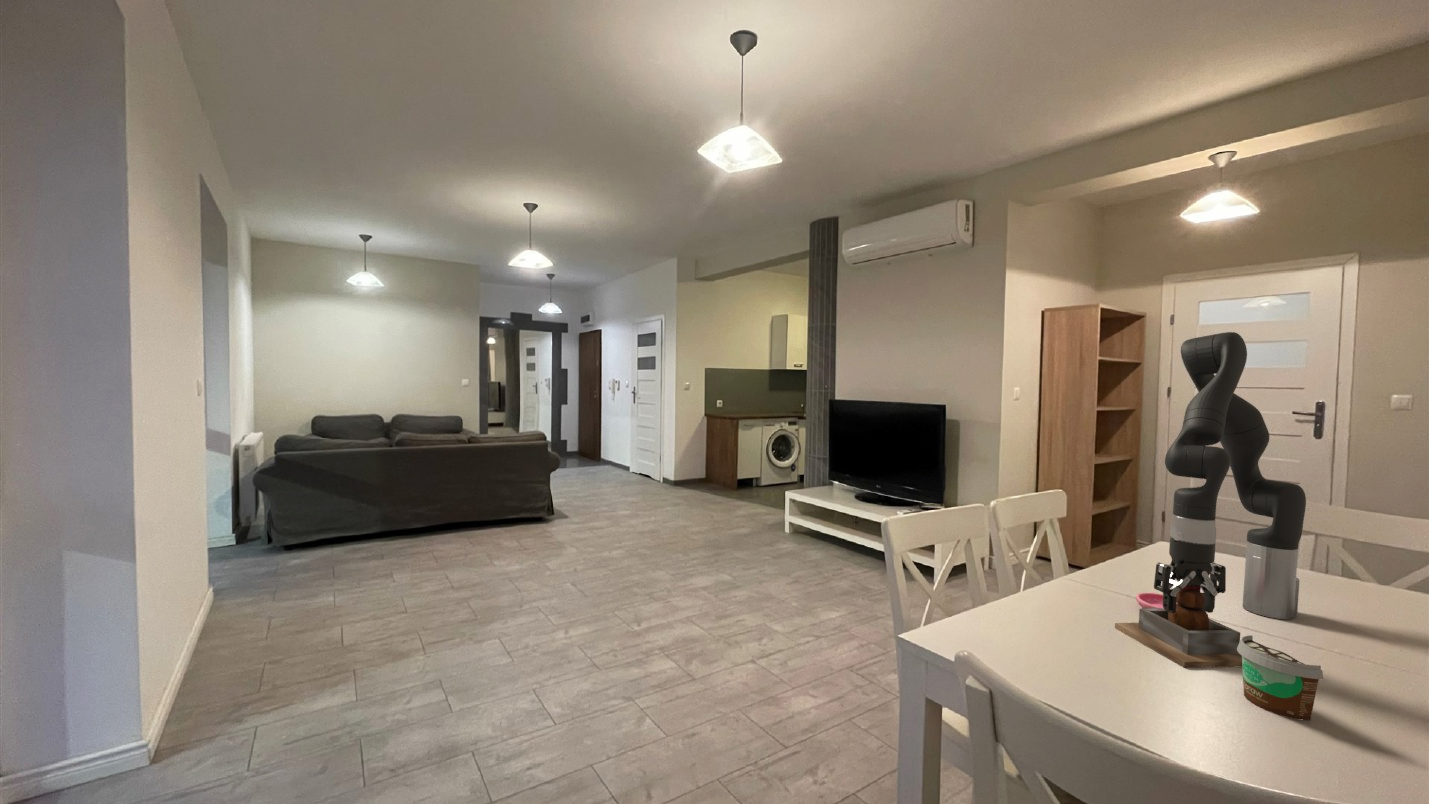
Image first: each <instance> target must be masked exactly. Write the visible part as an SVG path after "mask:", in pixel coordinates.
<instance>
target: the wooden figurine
mask: <svg viewBox="0 0 1429 804" xmlns="http://www.w3.org/2000/svg"><path fill="white" fill-rule="evenodd" d="M1201 590H1202V589H1201V585H1186V586H1185V587H1184V589H1180V590H1179V592H1178V593H1177V594H1176V595H1175V596H1176V597H1177V599H1176V602H1177V603H1178V604H1176V612H1175V613H1170V612H1169V613H1168V621H1170V622H1172V623H1174V624H1176V625H1178V626H1180V627H1182V628H1185V629H1187V630H1189V631H1205V630H1209V619H1210V618H1209V615H1208V612H1206V611H1205V610H1204V609H1202V608H1203V607H1204V604H1205V598H1204V595H1203V594H1202V593H1203V592H1201Z"/></svg>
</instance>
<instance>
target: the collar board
mask: <svg viewBox="0 0 1429 804" xmlns="http://www.w3.org/2000/svg"><path fill="white" fill-rule="evenodd" d="M1168 613H1169V612H1168V611H1166V610H1165V609H1142V608H1139V612H1138V622H1115V623H1114V628H1115V629H1116V630H1117V629H1118V631H1119V632H1120V633H1123V634H1124V633H1125V634H1124V635H1126V636H1128V637H1130V638H1132V639H1133V640H1135V641H1137V642H1138V641H1139V642H1138V643H1140V644H1141V645H1143V646H1146V647H1147V648H1149V649H1151V650H1153V651H1154V652H1155V653H1158V654H1160V655H1162V656H1163V657H1164V658H1166V659H1168V660H1170V661H1172V663H1175V664H1177V665H1178V666H1180V667H1182V668H1183V669H1184V668H1186V669H1187V668H1191V669H1192V668H1193V669H1194V668H1243V666H1242V655H1241V654H1239V652H1238V651H1237V647H1238V644H1239V642H1240V640H1241V632H1240V631H1238V630H1235V629H1233V628H1231V627H1229V626H1226V625H1224V624H1222V623H1220V622H1218V621H1215V620H1213V619H1211V618H1209V630H1205V631H1189V630H1187V629H1185V628H1182V627H1180V626H1178V625H1176V624H1174V623H1172V622H1170V621H1168Z"/></svg>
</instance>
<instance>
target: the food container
mask: <svg viewBox="0 0 1429 804" xmlns="http://www.w3.org/2000/svg"><path fill="white" fill-rule="evenodd" d="M1237 651H1238V652H1239V654H1241V655H1242V666H1243V667H1242V682H1243V683H1242V685H1243V696H1244V698H1245V699H1246V700H1247V701H1248V702H1250V703H1251V704H1252V705H1254V706H1256V707H1257V708H1260V709H1262V710H1264V711H1267V712H1270V713H1272V714H1275V715H1278V716H1281V717H1285V718H1289V719H1294V720H1299V719H1303V720H1302V721H1311V719H1312V715H1313V710H1314V703H1315V700H1316V699H1315V698H1316V695H1317V690H1318V685H1319V680H1324V673H1323V672H1324V671H1323V669H1322V666H1321V665H1317V664H1316V665H1314V664H1307V663H1303V662H1301V661H1300V660H1297V659H1296V658H1295V657H1293V656H1291V655H1290V654H1287V653H1285V652H1283V651H1281V650H1277V649H1274V648H1271V647H1269V646H1266V645H1263V644H1261V643H1258V642H1256V641H1255V640H1254V639H1253V635H1252V634H1250V635H1244V636H1243V637H1242V638H1241V639H1240V642H1239V644H1238V647H1237Z"/></svg>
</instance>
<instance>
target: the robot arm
mask: <svg viewBox="0 0 1429 804" xmlns="http://www.w3.org/2000/svg"><path fill="white" fill-rule="evenodd" d="M1247 348H1248V347H1247V345H1246V343H1245V340H1244V338H1243V337H1242V335H1240V334H1239V333H1238V332H1235V331H1234V332H1232V331H1227V332H1220V333H1215V334H1209V335H1204V336H1198V337H1193V338H1189V339H1186V340H1184V341H1183V342H1182V343H1181V347H1180V354H1181V361H1182V363H1183V366H1184V368H1185V370H1186V371H1187V373H1188V375H1189V377H1190V379H1191V381H1192V383H1193V385H1194V386H1195V388H1196V390H1197V393H1196V394H1195V395H1194V396H1193V397H1192V399H1191V400H1190V401H1189V403H1188V404H1187V407H1186V409H1185V412H1184V416H1183V422H1182V427H1181V429H1180V431H1179V434H1178V435H1177V437H1176V438H1175V439H1174V441H1173V442H1172V444H1171V445H1170V446H1169V448H1168V450H1167V451H1166V454H1165V457H1164V465H1165V468H1166V470H1167V471H1168V472H1169V473H1170V474H1172V475H1173V476H1177V477H1184V478H1191V479H1192V478H1193V479H1201V480H1203V479H1204V480H1205V483H1204V484H1203V485H1201V486H1197V487H1194V486H1193V487H1180V488H1178V489H1176V490H1175V491H1174V494H1173V507H1172V517H1171V522H1170V534H1169V550H1168V554H1169V556H1170V558H1171V561H1170V563H1169V564H1167V563H1166V564H1165V563H1162V562H1157V563H1156V564H1155V573H1154V583H1153V589H1154V590H1156V591H1159V592H1161V594H1163V608H1164V609H1165V610H1166V611H1168V612H1170V613H1175V612H1176V599H1177V597H1176V596H1175V595H1176V594H1177V593H1178V592H1179V590H1180V589H1184V587H1185V586H1186V585H1201V589H1200V590H1201V591H1202V592H1201V593H1202V594H1203V595H1204V598H1205V604H1204V607H1203V608H1202V609H1204V610H1205V612H1206V613H1207V614H1208V613H1210V614H1211V613H1213V612H1214V609H1215V603H1216V596H1218V594H1220V593H1222V594H1225V593H1226V588H1227V587H1226V585H1227V584H1226V583H1227V582H1226V581H1227V580H1226V579H1227V576H1226V575H1227V572H1226V571H1227V570H1226V569H1227V568H1226V566H1225V565H1222V564H1218V563H1216V562H1215V558H1216V557H1215V556H1216V542H1217V540H1216V539H1217V526H1216V514H1217V500H1218V497H1219V493H1220V490H1221V487H1222V484H1223V482H1224V480H1225V478H1226V476H1227V474H1228V472H1229V470H1231V473H1232V476H1233V479H1234V484H1235V488H1236V491H1237V494H1238V498H1239V500H1240V503H1241V505H1242V507H1243V508H1244V509H1245V510H1246V511H1247V512H1249V513H1251V514H1253V515H1257V516H1263V517H1267V518H1272V523H1271V524H1270V526H1267V527H1264V528H1263V527H1261V528H1252V529H1248V531H1247V534H1246V548H1245V549H1246V550H1245V563H1244V564H1245V565H1244V578H1243V579H1244V580H1243V591H1242V592H1243V594H1242V609H1244V610H1246V611H1248V612H1250V613H1253V614H1256V615H1260V616H1263V617H1266V618H1267V617H1268V618H1273V619H1279V620H1292V619H1294V618H1295V617H1298V610H1299V607H1298V606H1299V593H1300V579H1299V578H1298V577H1297V570H1298V569H1297V568H1298V558H1299V557H1298V555H1299V543H1300V540H1301V538H1302V535H1303V528H1304V526H1303V525H1304V520H1305V516H1306V515H1305V513H1306V507H1307V505H1306V504H1307V497H1306V493H1305V491H1304V489H1303V488H1302V487H1301V486H1300V485H1299V484H1295V483H1291V482H1285V481H1279V480H1273V479H1266V478H1265V477H1264V476H1263V475H1262V473H1261V470H1260V467H1259V462H1260V459H1261V457H1262V455H1263V454H1264V452H1265V450H1266V449H1267V447H1268V445H1269V442H1270V432H1269V429H1268V427H1267V425H1266V422H1265V419H1264V416H1263V415H1262V413H1261V411H1260V410H1259V409H1257V408H1256V407H1255V405H1254V404H1252V403H1251V402H1249V401H1247V400H1246V399H1244V398H1242V397H1241V396H1239V395H1238V394H1236V393H1235V390H1237V387H1238V384H1239V382H1240V379H1241V376H1242V375H1243V372H1244V370H1245V367H1246V363H1247V359H1248V349H1247ZM1218 443H1220V445H1221V446H1222V447H1218V446H1213V445H1217V444H1218ZM1175 580H1176V581H1175Z"/></svg>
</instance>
